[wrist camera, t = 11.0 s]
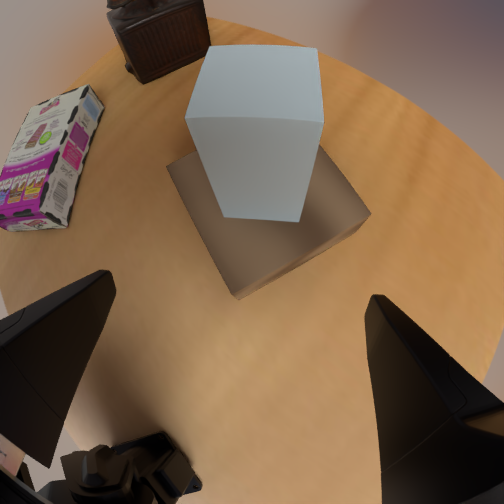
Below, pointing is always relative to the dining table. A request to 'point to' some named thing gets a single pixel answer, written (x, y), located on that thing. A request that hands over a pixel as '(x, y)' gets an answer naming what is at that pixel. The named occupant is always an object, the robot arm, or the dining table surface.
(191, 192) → the walnut block
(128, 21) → the manual coffee grinder
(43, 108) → the candy bar box
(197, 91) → the grey-blue block
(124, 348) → the dining table surface
